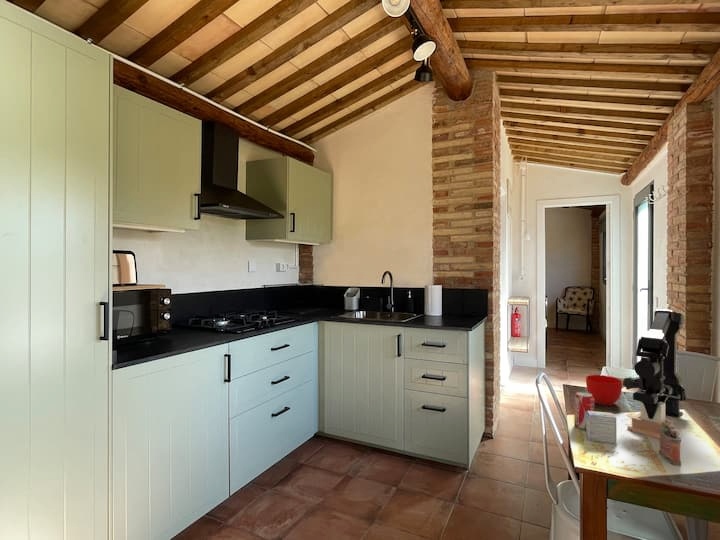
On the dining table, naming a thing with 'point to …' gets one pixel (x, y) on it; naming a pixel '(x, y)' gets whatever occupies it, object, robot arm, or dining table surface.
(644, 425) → the dock
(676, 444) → the lighter
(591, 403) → the beverage can
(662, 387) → the robot arm
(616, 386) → the red bowl
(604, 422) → the medicine box
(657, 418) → the plug
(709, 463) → the dining table surface
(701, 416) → the dining table surface
